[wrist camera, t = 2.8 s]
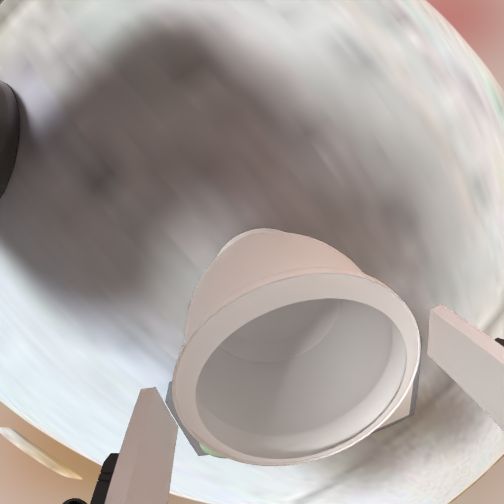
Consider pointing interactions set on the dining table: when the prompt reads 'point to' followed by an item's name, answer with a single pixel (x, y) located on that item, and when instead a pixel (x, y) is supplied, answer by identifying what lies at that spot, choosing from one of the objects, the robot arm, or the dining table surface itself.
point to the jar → (290, 351)
